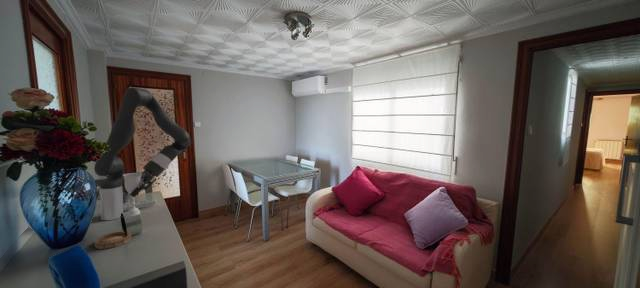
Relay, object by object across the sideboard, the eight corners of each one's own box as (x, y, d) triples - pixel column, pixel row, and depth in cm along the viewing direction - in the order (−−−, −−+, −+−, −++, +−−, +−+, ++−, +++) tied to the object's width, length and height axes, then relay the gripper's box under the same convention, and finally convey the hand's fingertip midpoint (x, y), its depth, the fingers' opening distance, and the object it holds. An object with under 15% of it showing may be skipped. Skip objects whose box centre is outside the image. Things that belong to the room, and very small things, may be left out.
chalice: (120, 214, 104) (119, 174, 103) (137, 209, 111) (136, 172, 109) (129, 218, 101) (128, 177, 100) (146, 212, 108) (146, 174, 106)
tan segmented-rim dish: (90, 243, 103) (90, 238, 102) (124, 233, 113) (124, 228, 113) (101, 251, 96) (100, 246, 96) (135, 240, 107) (135, 235, 107)
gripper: (144, 158, 114) (114, 186, 105) (159, 161, 107) (128, 193, 98) (156, 167, 119) (128, 195, 110) (171, 171, 112) (143, 202, 103)
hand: (128, 194), depth 104 cm, fingers closed on chalice, 6 cm apart
